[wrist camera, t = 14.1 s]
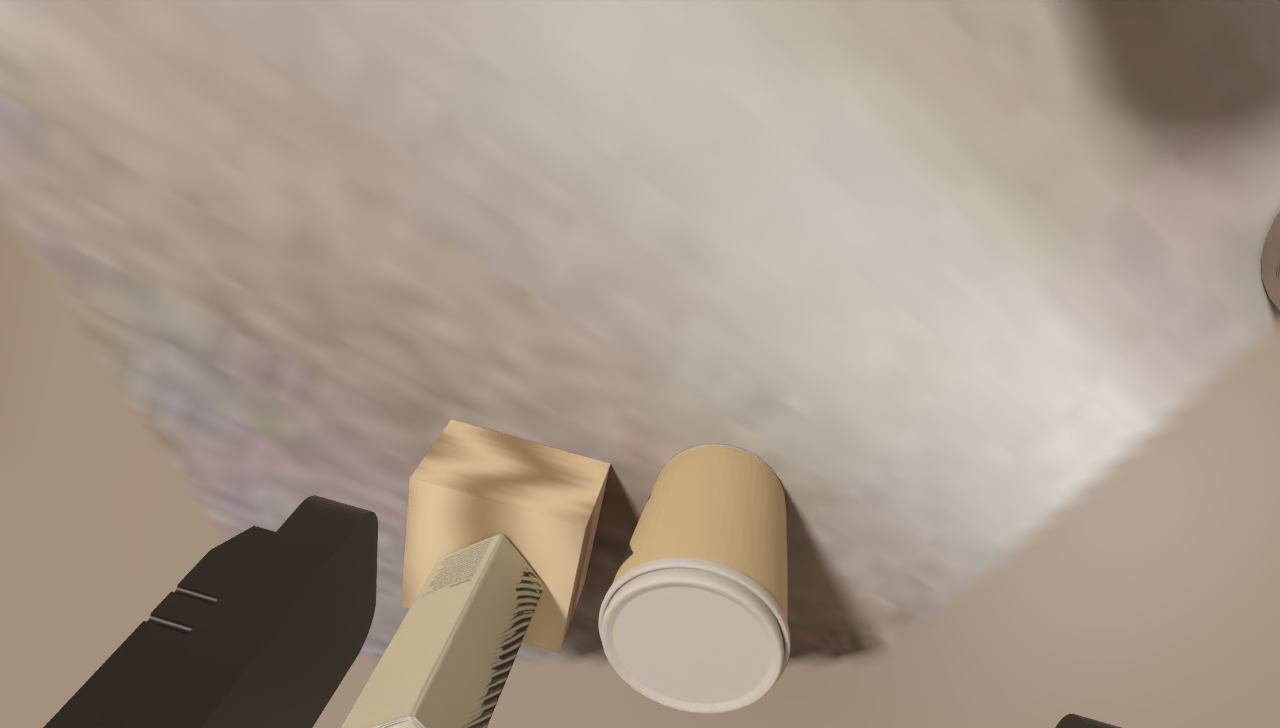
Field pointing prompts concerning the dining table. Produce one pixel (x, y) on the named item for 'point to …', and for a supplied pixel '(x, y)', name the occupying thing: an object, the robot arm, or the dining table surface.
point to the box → (454, 643)
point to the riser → (507, 515)
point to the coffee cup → (703, 585)
